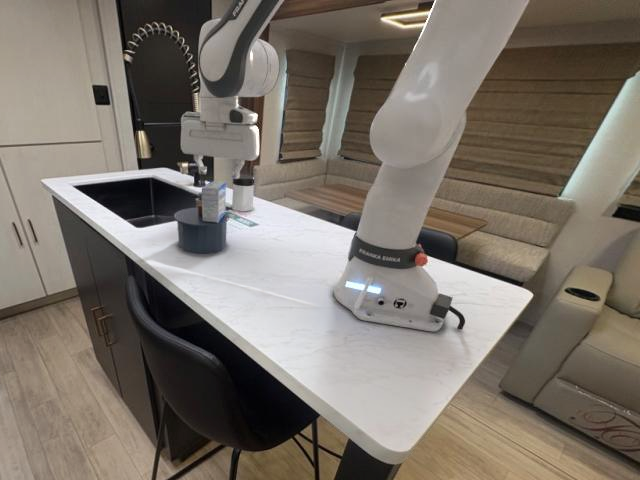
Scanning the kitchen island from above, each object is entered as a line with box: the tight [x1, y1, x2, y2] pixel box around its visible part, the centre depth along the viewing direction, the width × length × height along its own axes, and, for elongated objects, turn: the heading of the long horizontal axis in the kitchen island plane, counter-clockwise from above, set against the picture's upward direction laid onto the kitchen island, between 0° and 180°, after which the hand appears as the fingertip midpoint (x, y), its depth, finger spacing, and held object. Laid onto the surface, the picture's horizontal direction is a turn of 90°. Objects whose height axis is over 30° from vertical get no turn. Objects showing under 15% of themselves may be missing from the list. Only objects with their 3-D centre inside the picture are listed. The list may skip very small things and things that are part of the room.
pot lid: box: [173, 204, 230, 227], centre depth 84 cm, size 15×15×4 cm
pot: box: [177, 221, 228, 255], centre depth 87 cm, size 13×14×8 cm
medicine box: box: [201, 181, 227, 223], centre depth 81 cm, size 8×4×9 cm, turn 168°
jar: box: [231, 173, 255, 213], centre depth 118 cm, size 9×8×12 cm
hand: (218, 176), depth 79 cm, fingers open, 8 cm apart
